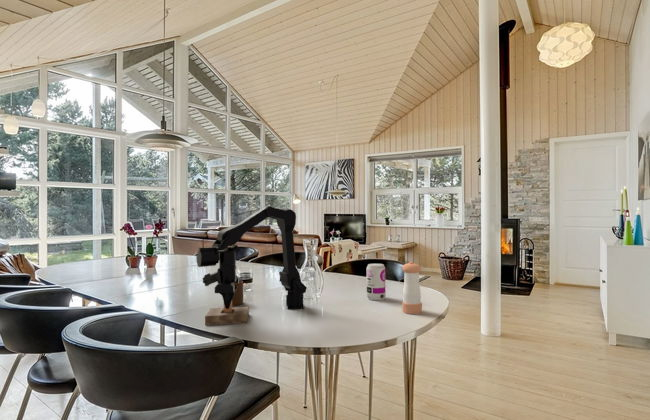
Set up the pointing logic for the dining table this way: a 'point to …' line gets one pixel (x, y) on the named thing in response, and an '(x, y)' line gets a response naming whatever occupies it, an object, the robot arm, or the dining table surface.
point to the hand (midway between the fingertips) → (227, 307)
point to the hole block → (227, 316)
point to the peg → (228, 309)
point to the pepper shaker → (411, 289)
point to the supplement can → (376, 282)
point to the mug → (238, 294)
